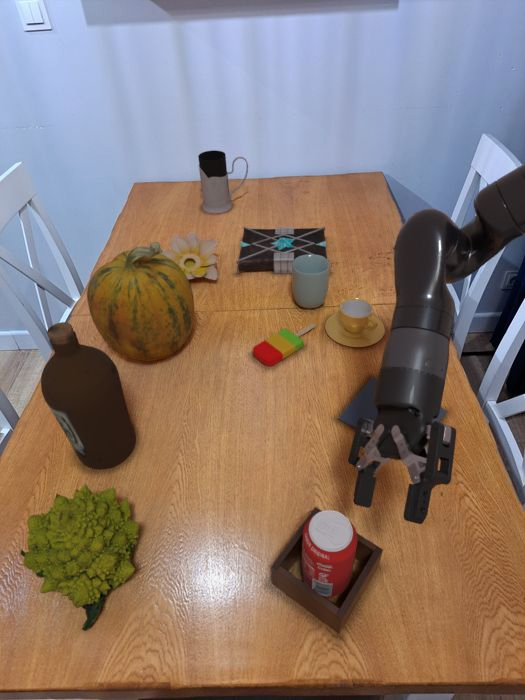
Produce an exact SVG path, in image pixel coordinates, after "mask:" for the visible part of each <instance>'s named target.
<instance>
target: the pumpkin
mask: <svg viewBox="0 0 525 700" xmlns="http://www.w3.org/2000/svg"><path fill="white" fill-rule="evenodd" d="M148 245H149V246H143V245H142V246H135V247H134V248H133V249H129V250H125V251H122V252H121V253H119V254H117V255H116V256H114V258H113V259H112V260H111V261H110V262H109V261H108V262H107V263H105V264H103V265H102V266H100V267H98V269H97V270H96V271H95V272H94V273H93V275H92V276H91V278H90V279H89V282H88V286H87V292H86V298H87V299H86V300H87V305H88V309H89V313H90V316H91V319H92V322H93V324H94V325H95V327H96V329H97V331H98V333H99V334H100V336H101V337H102V339H103V340H104V341H105V342H106V343H107V344H108V345H109V346H110V347H111V348H112V349H114V350H115V351H116V352H118V353H119V354H121V355H123V356H125V357H127V358H130V359H132V360H136V361H146V362H147V361H151V362H152V361H157V360H162V359H165V358H168V357H169V356H171V355H172V354H173V353H175V352H177V350H179V349H180V348H181V347H182V346H183V345H184V343H185V342H187V339H188V338H189V337H190V334H191V332H192V330H193V324H194V316H195V298H194V293H193V288H192V285H191V283H190V281H189V279H188V278H187V277H186V275H185V273H184V272H183V270H182V269H181V268H180V267H179V266H178V265H177V264H176V263H175V262H174V261H173V260H171V259H170V258H168V257H166V256H164V255H162V254H160V253H162V252H163V251H164V250H163V249H162V248H161V244H160V242H159V241H153V242H150V243H149V244H148Z"/></svg>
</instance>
